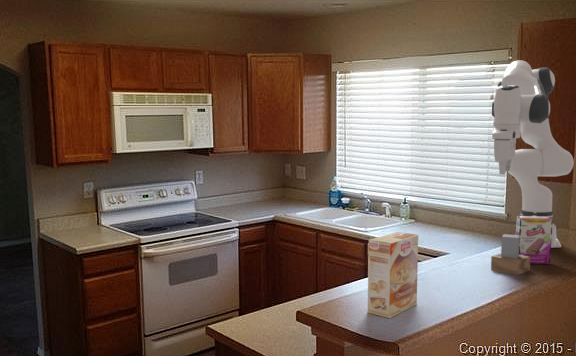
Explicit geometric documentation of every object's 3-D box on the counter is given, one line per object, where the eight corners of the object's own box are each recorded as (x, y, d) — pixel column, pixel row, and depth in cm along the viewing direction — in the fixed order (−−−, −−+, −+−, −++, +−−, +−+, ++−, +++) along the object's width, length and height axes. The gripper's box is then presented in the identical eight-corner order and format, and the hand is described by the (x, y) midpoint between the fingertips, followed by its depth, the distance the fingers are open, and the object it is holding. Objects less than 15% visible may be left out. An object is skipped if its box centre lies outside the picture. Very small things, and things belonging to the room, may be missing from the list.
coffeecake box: (390, 319, 142) (391, 243, 141) (366, 313, 147) (366, 239, 145) (418, 304, 154) (419, 234, 152) (395, 299, 158) (396, 231, 157)
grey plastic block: (503, 254, 193) (503, 234, 192) (518, 255, 190) (519, 235, 190) (501, 257, 188) (501, 236, 188) (517, 258, 186) (517, 237, 185)
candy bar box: (518, 264, 198) (519, 217, 197) (514, 260, 203) (515, 215, 202) (551, 264, 197) (553, 218, 195) (546, 261, 202) (548, 216, 200)
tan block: (504, 266, 196) (505, 252, 196) (529, 271, 189) (530, 256, 189) (491, 270, 190) (491, 256, 190) (516, 276, 183) (517, 261, 183)
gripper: (502, 131, 204) (500, 169, 205) (491, 134, 186) (489, 175, 188) (520, 131, 200) (519, 169, 202) (511, 134, 183) (509, 176, 185)
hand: (504, 172), depth 195 cm, fingers open, 8 cm apart
